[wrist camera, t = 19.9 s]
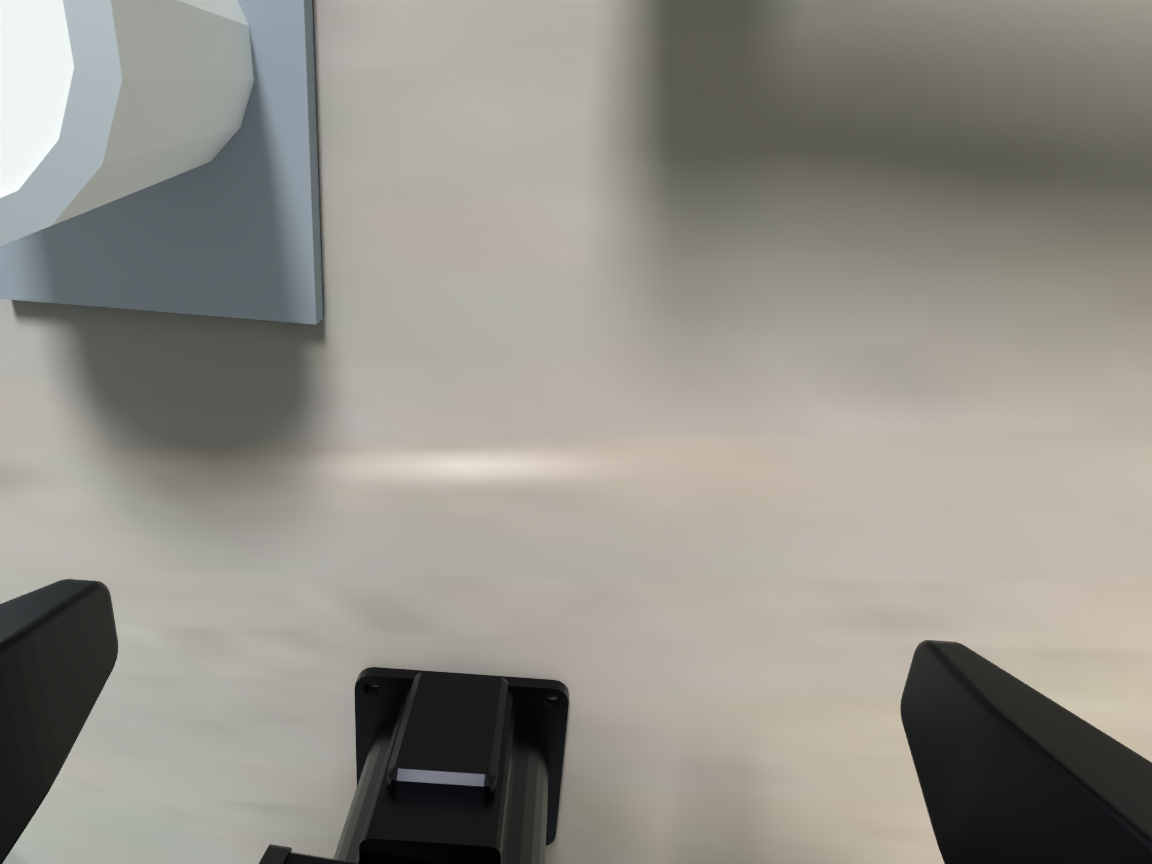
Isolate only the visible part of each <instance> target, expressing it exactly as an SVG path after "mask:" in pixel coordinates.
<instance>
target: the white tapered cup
mask: <svg viewBox="0 0 1152 864" xmlns="http://www.w3.org/2000/svg"><path fill="white" fill-rule="evenodd" d="M253 83H254V73H253V62H252V52H251V41H250V31H249V25H248V23H247V21H246V18H245V16H244V14H243V12H242V10H241V8H240V5H239V3H238V1H237V0H0V246H3V245H5V244H8V243H10V242H13V241H15V240H18V239H20V238H23V237H25V236H28V235H30V234H33V233H35V232H38V231H40V230H42V229H45V228H47V227H50V226H52V225H55V224H57V223H60V222H62V221H65V220H67V219H70V218H72V217H75V216H77V215H80V214H82V213H85V212H87V211H90V210H92V209H95V208H97V207H100V206H102V205H105V204H107V203H110V202H112V201H115V200H117V199H119V198H122V197H124V196H127V195H129V194H132V193H134V192H137V191H139V190H142V189H144V188H147V187H149V186H152V185H154V184H157V183H159V182H162V181H164V180H167V179H169V178H172V177H174V176H177V175H179V174H181V173H184V172H186V171H189V170H191V169H194V168H196V167H199V166H201V165H203V164H206V163H208V162H211V161H212V160H213V158H214V157H215V156H216V155H217V154H218V153H219V152H220V150H221V149H222V148H223V147H224V146H225V145H226V144H227V142H228V141H229V140H230V139H231V138H232V137H233V136H234V134H235V133H236V132H237V131H238V130H239V129H240V128H241V124H242V121H243V117H244V114H245V110H246V107H247V104H248V100H249V97H250V93H251V90H252V86H253Z"/></svg>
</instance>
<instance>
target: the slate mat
mask: <svg viewBox="0 0 1152 864" xmlns="http://www.w3.org/2000/svg"><path fill="white" fill-rule="evenodd" d="M237 1H238V3H239V5H240V8H241V10H242V12H243V14H244V16H245V18H246V21H247V23H248V25H249V31H250V41H251V52H252V62H253V73H254V83H253V86H252V90H251V93H250V97H249V100H248V104H247V107H246V110H245V114H244V117H243V121H242V124H241V128H240V129H239V130H238V131H237V132H236V133H235V134H234V136H233V137H232V138H231V139H230V140H229V141H228V142H227V144H226V145H225V146H224V147H223V148H222V149H221V150H220V152H219V153H218V154H217V155H216V156H215V157H214V158H213V160H212V161H211V162H208V163H206V164H203V165H201V166H199V167H196V168H194V169H191V170H189V171H186V172H184V173H181V174H179V175H177V176H174V177H172V178H169V179H167V180H164V181H162V182H159V183H157V184H154V185H152V186H149V187H147V188H144V189H142V190H139V191H137V192H134V193H132V194H129V195H127V196H124V197H122V198H119V199H117V200H115V201H112V202H110V203H107V204H105V205H102V206H100V207H97V208H95V209H92V210H90V211H87V212H85V213H82V214H80V215H77V216H75V217H72V218H70V219H67V220H65V221H62V222H60V223H57V224H55V225H52V226H50V227H47V228H45V229H42V230H40V231H38V232H35V233H33V234H30V235H28V236H25V237H23V238H20V239H18V240H15V241H13V242H10V243H8V244H5V245H3V246H0V299H8V300H20V301H32V302H45V303H57V304H69V305H81V306H94V307H106V308H118V309H130V310H143V311H155V312H167V313H180V314H192V315H204V316H216V317H229V318H241V319H253V320H266V321H278V322H290V323H302V324H315V325H316V324H317V323H319V322H320V321H321V320H322V319H323V299H322V270H321V241H320V212H319V183H318V155H317V126H316V97H315V68H314V39H313V10H312V0H237Z"/></svg>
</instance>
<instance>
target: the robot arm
mask: <svg viewBox="0 0 1152 864" xmlns="http://www.w3.org/2000/svg"><path fill="white" fill-rule="evenodd" d="M117 654H118V639H117V633H116V627H115V620H114V614H113V608H112V601H111V596H110V592H109V590H108V588H107V586H106V585H105V584H103V583H102V582H99V581H87V580H74V579H66V580H61V581H58V582H55V583H53V584H50V585H48V586H45V587H43V588H40V589H38V590H35V591H33V592H30V593H27V594H25V595H22V596H20V597H17V598H15V599H12V600H10V601H7V602H5V603H2V604H0V864H2V863H3V861H4V860H5V858H6V857H7V855H8V854H9V852H10V851H11V849H12V848H13V846H14V845H15V843H16V842H17V840H18V839H19V837H20V835H21V834H22V832H23V831H24V829H25V828H26V826H27V825H28V823H29V822H30V820H31V819H32V817H33V816H34V814H35V812H36V811H37V809H38V808H39V806H40V804H41V803H42V801H43V800H44V798H45V796H46V795H47V793H48V792H49V790H50V788H51V786H52V784H53V783H54V781H55V779H56V777H57V775H58V774H59V772H60V770H61V768H62V766H63V764H64V762H65V760H66V758H67V756H68V755H69V753H70V751H71V749H72V747H73V745H74V743H75V741H76V739H77V737H78V735H79V733H80V731H81V729H82V727H83V726H84V724H85V722H86V720H87V718H88V716H89V714H90V712H91V710H92V708H93V706H94V704H95V702H96V700H97V698H98V697H99V695H100V693H101V691H102V689H103V687H104V685H105V683H106V681H107V679H108V677H109V675H110V673H111V671H112V669H113V667H114V665H115V662H116V659H117ZM370 682H372V683H375V684H377V685H378V686H379V687H371V686H369V685H368V684H367V683H370ZM550 695H554V696H557V697H558V698H557V699H554V700H551V699H548V698H547V696H550ZM568 704H569V693H568V688H567V687H566V686H565V684H563V683H562V682H560V681H556V680H546V679H532V678H518V677H504V676H490V675H476V674H462V673H448V672H434V671H419V670H405V669H391V668H377V667H372V668H367V669H365V670H363V671H362V672H361V673H360V674H359V676H358V679H357V681H356V685H355V721H356V763H357V789H356V792H355V795H354V798H353V801H352V804H351V807H350V810H349V813H348V817H347V820H346V823H345V826H344V829H343V832H342V835H341V838H340V841H339V844H338V847H337V850H336V853H335V856H334V859H329V858H323V857H317V856H311V855H305V854H299V853H293V852H292V848H289V847H283V846H277V845H271V844H270V845H269V847H268V848H267V850H266V852H265V854H264V855H263V857H262V859H261V861H260V863H259V864H545V848H546V845H549V844H551V843H552V842H553V841H554V839H555V835H556V825H557V815H558V805H559V795H560V785H561V774H562V764H563V754H564V744H565V734H566V724H567V714H568ZM901 718H902V723H903V726H904V730H905V733H906V737H907V740H908V744H909V747H910V751H911V754H912V758H913V761H914V765H915V768H916V772H917V775H918V779H919V782H920V786H921V789H922V793H923V796H924V800H925V803H926V807H927V810H928V814H929V817H930V821H931V824H932V828H933V831H934V834H935V837H936V840H937V843H938V847H939V850H940V852H941V855H942V858H943V860H944V863H945V864H1152V762H1150V761H1148V760H1147V759H1145V758H1144V757H1142V756H1140V755H1139V754H1137V753H1136V752H1134V751H1132V750H1131V749H1129V748H1128V747H1126V746H1124V745H1123V744H1121V743H1120V742H1118V741H1116V740H1115V739H1113V738H1112V737H1110V736H1108V735H1107V734H1105V733H1103V732H1102V731H1100V730H1099V729H1097V728H1095V727H1094V726H1092V725H1091V724H1089V723H1087V722H1086V721H1084V720H1083V719H1081V718H1079V717H1078V716H1076V715H1075V714H1073V713H1071V712H1070V711H1068V710H1067V709H1065V708H1063V707H1062V706H1060V705H1059V704H1057V703H1055V702H1054V701H1052V700H1051V699H1049V698H1047V697H1046V696H1044V695H1043V694H1041V693H1039V692H1038V691H1036V690H1035V689H1033V688H1031V687H1030V686H1028V685H1027V684H1025V683H1023V682H1022V681H1020V680H1019V679H1017V678H1015V677H1014V676H1012V675H1011V674H1009V673H1007V672H1006V671H1004V670H1003V669H1001V668H999V667H998V666H996V665H995V664H993V663H991V662H990V661H988V660H987V659H985V658H983V657H982V656H980V655H978V654H977V653H975V652H974V651H972V650H970V649H969V648H967V647H966V646H964V645H962V644H960V643H957V642H949V641H934V640H925V641H923V642H921V643H920V644H919V645H918V646H917V648H916V650H915V653H914V656H913V659H912V663H911V666H910V670H909V673H908V677H907V680H906V684H905V687H904V691H903V694H902V699H901Z"/></svg>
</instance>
